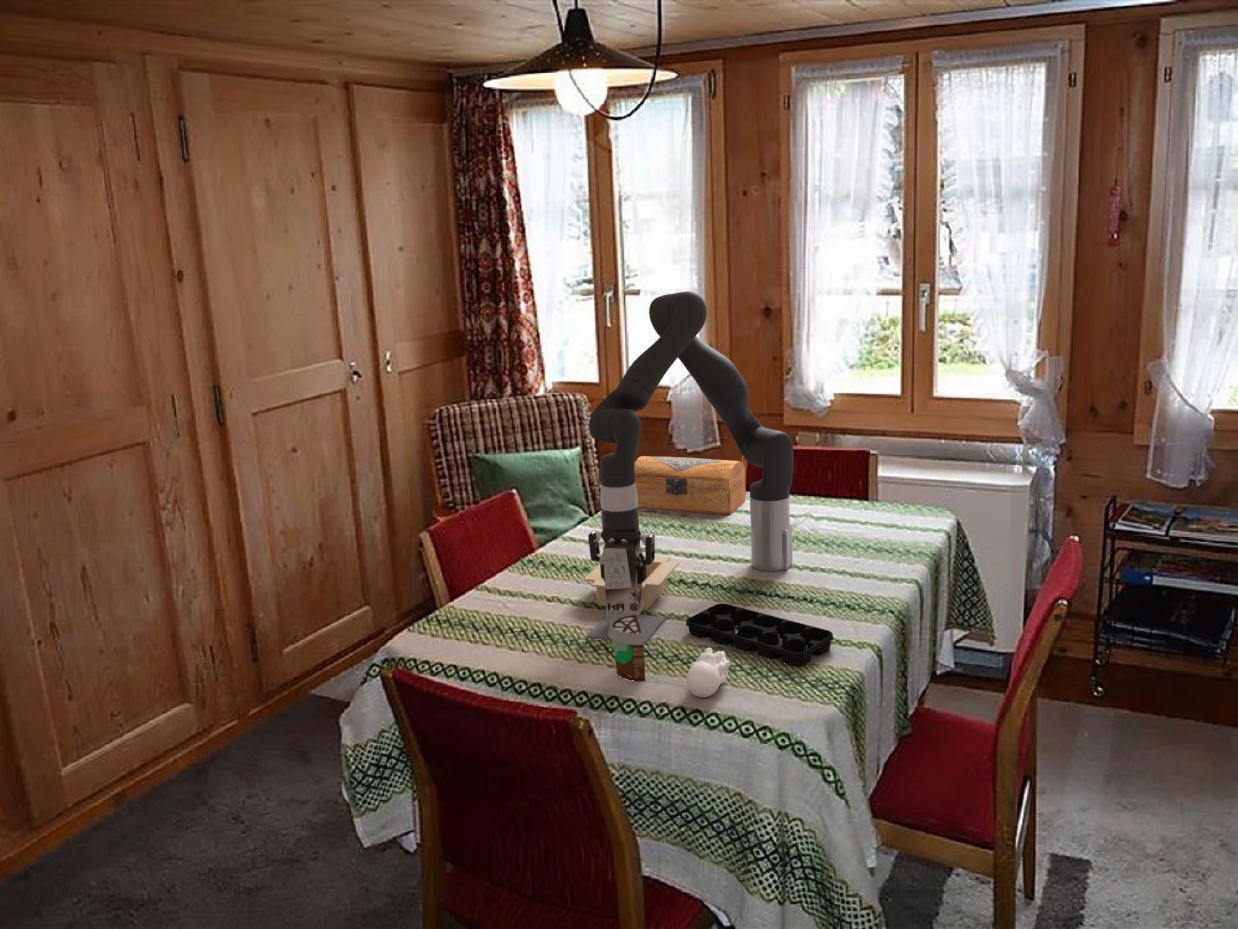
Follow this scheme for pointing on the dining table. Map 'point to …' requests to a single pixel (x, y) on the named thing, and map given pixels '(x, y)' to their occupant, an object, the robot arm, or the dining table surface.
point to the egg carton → (760, 634)
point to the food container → (628, 646)
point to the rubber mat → (646, 624)
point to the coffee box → (621, 580)
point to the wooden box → (689, 484)
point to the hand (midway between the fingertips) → (623, 581)
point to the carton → (651, 584)
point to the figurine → (707, 673)
